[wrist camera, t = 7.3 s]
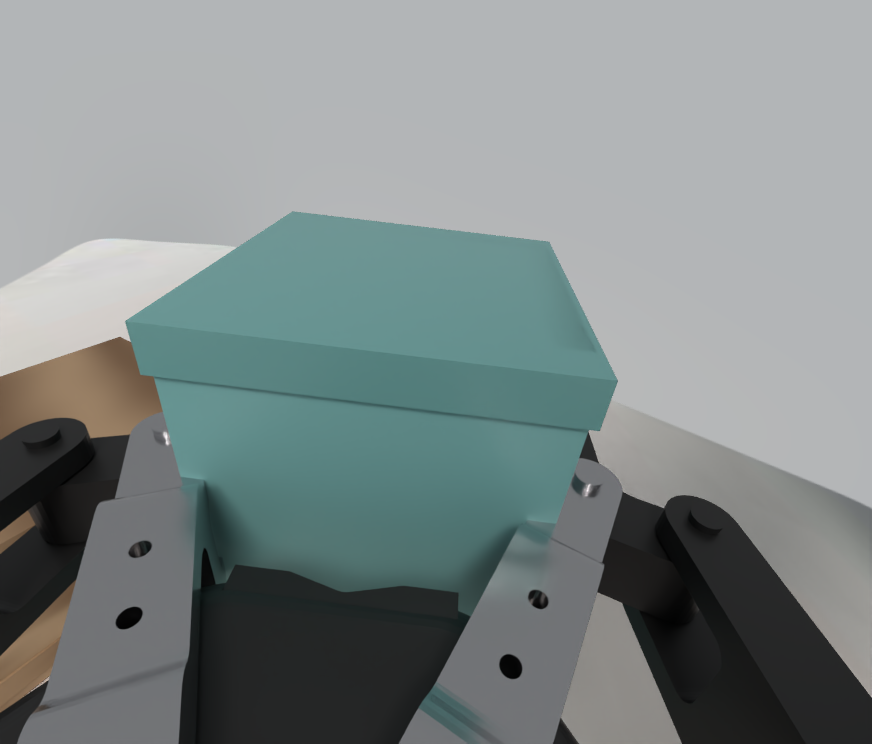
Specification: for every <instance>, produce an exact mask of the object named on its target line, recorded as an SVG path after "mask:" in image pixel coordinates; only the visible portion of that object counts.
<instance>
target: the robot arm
mask: <svg viewBox="0 0 872 744" xmlns="http://www.w3.org/2000/svg"><path fill="white" fill-rule="evenodd" d="M26 511H28V512H29V514H30V516H31V517H32V519H33V521H34V523H35V526H34V527H32V528H31V529H30V530H29V531H28V532H26V533H25V534H24V535H23V536H21V537H20V538H19V539H18V540H17V541H15V542H14V543H13V544H12V545H11V546H9V547H8V548H7V549H6V550H4V551H3V552H2V553H1V554H0V656H1V655H2V654H3V653H4V652H5V651H6V650H7V649H8V648H9V647H10V646H11V645H12V644H13V643H14V642H15V641H16V640H17V639H18V638H19V637H20V636H21V635H22V634H23V633H24V632H25V631H26V630H27V629H28V628H29V627H30V626H31V625H32V624H33V623H34V622H35V621H36V620H37V619H38V618H39V617H40V616H41V615H42V613H43V612H44V611H45V610H46V609H47V608H48V607H49V606H50V605H51V604H52V603H53V602H54V601H55V600H56V599H57V598H58V597H59V596H60V595H61V594H62V593H63V592H64V591H65V590H66V589H67V588H68V587H69V586H70V585H71V584H72V583H73V582H74V581H75V580H76V583H75V587H74V590H73V594H72V598H71V601H70V605H69V609H68V612H67V616H66V620H65V623H64V627H63V631H62V634H61V638H60V641H59V645H58V649H57V652H56V656H55V660H54V663H53V667H52V671H51V674H50V678H49V680H48V681H47V682H45V683H44V684H42V685H41V686H39V687H38V688H36V689H35V690H33V691H32V692H30V693H29V694H27V695H26V696H24V697H23V698H21V699H20V700H18V701H17V702H15V703H14V704H12V705H11V706H9V707H8V708H6V709H5V710H3V711H2V712H0V744H579V743H578V742H577V741H576V739H575V738H574V736H573V735H572V733H571V732H570V731H569V729H568V728H567V726H566V725H565V723H564V722H563V721H562V719H561V714H562V711H563V708H564V704H565V701H566V697H567V694H568V690H569V687H570V683H571V680H572V677H573V673H574V670H575V666H576V663H577V659H578V656H579V653H580V649H581V646H582V642H583V639H584V635H585V632H586V628H587V625H588V622H589V618H590V615H591V611H592V608H593V604H594V601H595V598H596V594H597V592H598V593H601V594H603V595H605V596H608V597H610V598H612V599H615V600H617V601H619V602H622V604H623V607H624V609H625V611H626V614H627V616H628V618H629V621H630V623H631V625H632V628H633V630H634V632H635V635H636V637H637V639H638V642H639V644H640V646H641V649H642V651H643V653H644V656H645V658H646V660H647V663H648V665H649V667H650V670H651V672H652V674H653V677H654V679H655V681H656V684H657V686H658V688H659V691H660V693H661V695H662V698H663V700H664V702H665V705H666V707H667V709H668V712H669V714H670V716H671V719H672V721H673V723H674V726H675V728H676V730H677V733H678V735H679V737H680V740H681V742H682V744H872V698H871V696H870V695H869V694H868V692H867V691H866V690H865V689H864V687H863V686H862V685H861V683H860V682H859V681H858V679H857V678H856V677H855V676H854V674H853V673H852V672H851V670H850V669H849V668H848V666H847V665H846V664H845V663H844V661H843V660H842V659H841V657H840V656H839V655H838V653H837V652H836V651H835V650H834V648H833V647H832V646H831V644H830V643H829V642H828V640H827V639H826V638H825V637H824V635H823V634H822V633H821V631H820V630H819V629H818V627H817V626H816V625H815V624H814V622H813V621H812V620H811V618H810V617H809V616H808V614H807V613H806V612H805V611H804V609H803V608H802V607H801V605H800V604H799V603H798V601H797V600H796V599H795V598H794V596H793V595H792V594H791V592H790V591H789V590H788V588H787V587H786V586H785V585H784V583H783V582H782V581H781V579H780V578H779V577H778V575H777V574H776V573H775V572H774V570H773V569H772V568H771V566H770V565H769V564H768V562H767V561H766V560H765V559H764V557H763V556H762V555H761V553H760V552H759V551H758V549H757V548H756V547H755V545H754V544H753V543H752V542H751V540H750V539H749V538H748V536H747V535H746V534H745V532H744V531H743V530H742V529H741V527H740V526H739V525H738V523H737V522H736V521H735V520H734V519H733V518H732V517H731V516H730V515H729V514H728V513H727V512H725V511H724V510H723V509H721V508H720V507H718V506H717V505H715V504H713V503H711V502H709V501H707V500H704V499H701V498H698V497H694V496H687V495H681V496H676V497H673V498H671V499H670V500H669V501H668V502H667V504H666V506H665V508H661V507H659V506H656V505H653V504H650V503H647V502H645V501H642V500H639V499H637V498H634V497H632V496H630V495H628V494H626V493H624V492H622V486H621V484H620V482H619V480H618V479H617V477H616V476H615V475H614V474H613V473H612V472H611V471H610V470H608V469H607V468H606V467H604V466H602V465H601V464H599V462H598V459H597V456H596V453H595V450H594V447H593V444H592V441H591V438H590V435H589V432H588V434H587V437H586V440H585V443H584V445H583V448H582V451H581V454H580V457H579V460H578V463H577V465H576V468H575V471H574V474H573V477H572V480H571V483H570V485H569V488H568V491H567V494H566V497H565V500H564V503H563V505H562V508H561V511H560V514H559V517H558V520H557V523H556V524H554V523H546V522H538V521H530V520H527V522H526V524H523V523H521V525H520V526H519V527H518V529H517V531H516V533H515V535H514V536H513V538H512V540H511V542H510V544H509V546H508V548H507V550H506V551H505V553H504V555H503V557H502V559H501V561H500V563H499V565H498V567H497V568H496V570H495V572H494V574H493V576H492V578H491V580H490V582H489V583H488V585H487V587H486V589H485V591H484V593H483V595H482V597H481V599H480V600H479V602H478V604H477V606H476V608H475V610H474V612H473V614H472V615H471V616H469V615H467V614H465V613H462V612H460V611H458V597H459V593H458V592H450V591H442V590H434V589H426V588H419V587H411V586H396V587H388V588H379V589H371V590H362V591H354V592H341V591H337V590H335V589H332V588H330V587H328V586H325V585H323V584H320V583H318V582H315V581H313V580H310V579H308V578H305V577H303V576H300V575H298V574H295V573H293V572H290V571H284V570H276V569H268V568H260V567H252V566H244V565H236V564H235V566H234V568H233V570H232V572H231V574H230V576H229V578H228V580H227V582H226V571H225V566H224V562H223V558H222V557H218V553H217V549H216V544H215V540H214V536H213V532H212V528H211V522H210V514H209V498H208V493H207V489H206V485H205V480H202V479H194V478H186V477H180V473H179V469H178V466H177V462H176V458H175V454H174V451H173V447H172V443H171V440H170V436H169V432H168V428H167V425H166V421H165V417H164V414H163V412H160V413H157V414H154V415H152V416H149V417H147V418H145V419H144V420H142V421H141V422H139V423H138V424H137V425H136V426H135V427H134V428H133V430H132V431H131V434H129V435H119V436H108V437H97V438H90V435H89V433H88V430H87V428H86V425H85V424H84V423H83V422H81V421H79V420H77V419H73V418H52V419H46V420H41V421H38V422H34V423H31V424H29V425H26V426H24V427H22V428H19V429H17V430H16V431H14V432H12V433H10V434H9V435H7V436H6V437H4V438H2V439H1V440H0V532H1V531H2V530H3V529H5V528H6V527H7V526H8V525H10V524H11V523H12V522H14V521H15V520H16V519H17V518H19V517H20V516H21V515H23V514H24V513H25V512H26Z"/></svg>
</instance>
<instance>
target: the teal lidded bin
mask: <svg viewBox="0 0 872 744" xmlns="http://www.w3.org/2000/svg"><path fill="white" fill-rule="evenodd" d="M125 322H126V326H127V329H128V333H129V336H130V340H131V343H132V347H133V350H134V354H135V357H136V361H137V364H138V368H139V371H140V375H146V376H154V380H155V384H156V388H157V391H158V395H159V399H160V402H161V406H162V410H163V414H164V417H165V421H166V425H167V428H168V432H169V436H170V440H171V443H172V447H173V451H174V454H175V458H176V462H177V466H178V469H179V473H180V477H186V478H194V479H202V480H205V485H206V489H207V493H208V498H209V514H210V522H211V528H212V532H213V536H214V540H215V544H216V549H217V553H218V557H222V558H223V562H224V566H225V571H226V582H227V580H228V578H229V576H230V574H231V572H232V570H233V568H234V566H235V564H236V565H244V566H252V567H260V568H268V569H276V570H284V571H290V572H293V573H295V574H298V575H300V576H303V577H305V578H308V579H310V580H313V581H315V582H318V583H320V584H323V585H325V586H328V587H330V588H332V589H335V590H337V591H341V592H354V591H362V590H371V589H379V588H388V587H396V586H411V587H419V588H426V589H434V590H442V591H450V592H458V593H459V597H458V611H460V612H462V613H465V614H467V615H469V616H471V615H472V614H473V612H474V610H475V608H476V606H477V604H478V602H479V600H480V599H481V597H482V595H483V593H484V591H485V589H486V587H487V585H488V583H489V582H490V580H491V578H492V576H493V574H494V572H495V570H496V568H497V567H498V565H499V563H500V561H501V559H502V557H503V555H504V553H505V551H506V550H507V548H508V546H509V544H510V542H511V540H512V538H513V536H514V535H515V533H516V531H517V529H518V527H519V526H520V525H521V523H523V524H526V522H527V520H530V521H538V522H546V523H554V524H556V523H557V520H558V517H559V514H560V511H561V508H562V505H563V503H564V500H565V497H566V494H567V491H568V488H569V485H570V483H571V480H572V477H573V474H574V471H575V468H576V465H577V463H578V460H579V457H580V454H581V451H582V448H583V445H584V443H585V440H586V437H587V434H588V431H589V430H594V431H600V428H601V426H602V423H603V420H604V418H605V415H606V412H607V409H608V407H609V404H610V401H611V398H612V396H613V393H614V390H615V387H616V385H617V382H618V380H617V378H616V376H615V374H614V372H613V370H612V368H611V366H610V364H609V362H608V360H607V358H606V356H605V354H604V352H603V350H602V348H601V346H600V344H599V342H598V340H597V338H596V336H595V334H594V332H593V330H592V328H591V326H590V324H589V322H588V320H587V318H586V316H585V313H584V312H583V310H582V308H581V306H580V303H579V301H578V299H577V297H576V295H575V293H574V291H573V289H572V287H571V285H570V283H569V281H568V279H567V277H566V275H565V273H564V271H563V269H562V267H561V265H560V263H559V261H558V259H557V257H556V255H555V253H554V251H553V249H552V247H551V245H550V243H549V242H546V241H538V240H529V239H521V238H513V237H504V236H496V235H487V234H479V233H470V232H461V231H452V230H444V229H436V228H428V227H419V226H411V225H402V224H394V223H385V222H377V221H369V220H360V219H351V218H343V217H334V216H327V215H318V214H309V213H301V212H291V213H290V214H288V215H287V216H285V217H283V218H282V219H280V220H279V221H277V222H276V223H275V224H273V225H271V226H270V227H268V228H267V229H265V230H264V231H262V232H261V233H259V234H257V235H256V236H254V237H253V238H251V239H250V240H248V241H247V242H245V243H244V244H242V245H241V246H239V247H238V248H236V249H235V250H233V251H231V252H230V253H228V254H227V255H225V256H224V257H222V258H221V259H219V260H218V261H216V262H215V263H213V264H212V265H210V266H209V267H207V268H206V269H204V270H202V271H201V272H199V273H198V274H196V275H195V276H193V277H192V278H190V279H189V280H187V281H186V282H184V283H183V284H181V285H180V286H178V287H176V288H175V289H173V290H172V291H170V292H169V293H167V294H166V295H164V296H163V297H161V298H160V299H158V300H157V301H155V302H154V303H152V304H151V305H149V306H147V307H146V308H144V309H143V310H141V311H140V312H138V313H137V314H135V315H134V316H132V317H131V318H129V319H128V320H126V321H125Z"/></svg>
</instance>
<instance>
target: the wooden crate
mask: <svg viewBox="0 0 872 744" xmlns="http://www.w3.org/2000/svg"><path fill="white" fill-rule="evenodd" d="M160 412H163V410H162V406H161V402H160V399H159V395H158V391H157V388H156V384H155V380H154V376H146V375H140V371H139V368H138V364H137V361H136V357H135V354H134V350H133V347H132V343H131V342H129V341H127V340H125V339H123V338H121V337H118V338H115V339H112V340H109V341H106V342H103V343H100V344H97V345H94V346H91V347H88V348H85V349H82V350H79V351H76V352H73V353H70V354H67V355H64V356H61V357H58V358H55V359H52V360H49V361H46V362H43V363H40V364H37V365H34V366H31V367H28V368H25V369H22V370H19V371H16V372H13V373H10V374H7V375H4V376H1V377H0V440H1V439H2V438H4V437H6V436H7V435H9V434H10V433H12V432H14V431H16V430H17V429H19V428H22V427H24V426H26V425H29V424H31V423H34V422H38V421H41V420H46V419H52V418H73V419H77V420H79V421H81V422H83V423H84V424H85V425H86V428H87V430H88V433H89V435H90V438H97V437H108V436H119V435H129V434H131V431H132V430H133V428H134V427H135V426H136V425H137V424H138V423H139V422H141V421H142V420H144V419H145V418H147V417H149V416H152V415H154V414H157V413H160ZM34 526H35V523H34V521H33V519H32V517H31V516H30V514H29V512H28V511H26V512H25V513H24V514H23V515H21V516H20V517H19V518H17V519H16V520H15V521H14V522H12V523H11V524H10V525H8V526H7V527H6V528H5V529H3V530H2V531H1V532H0V554H1V553H2V552H3V551H4V550H6V549H7V548H8V547H9V546H11V545H12V544H13V543H14V542H15V541H17V540H18V539H19V538H20V537H21V536H23V535H24V534H25V533H26V532H28V531H29V530H30V529H31V528H32V527H34ZM75 583H76V580H75V581H74V582H73V583H72V584H71V585H70V586H69V587H68V588H67V589H66V590H65V591H64V592H63V593H62V594H61V595H60V596H59V597H58V598H57V599H56V600H55V601H54V602H53V603H52V604H51V605H50V606H49V607H48V608H47V609H46V610H45V611H44V612H43V613H42V615H41V616H40V617H39V618H38V619H37V620H36V621H35V622H34V623H33V624H32V625H31V626H30V627H29V628H28V629H27V630H26V631H25V632H24V633H23V634H22V635H21V636H20V637H19V638H18V639H17V640H16V641H15V642H14V643H13V644H12V645H11V646H10V647H9V648H8V649H7V650H6V651H5V652H4V653H3V654H2V655H1V656H0V712H2V711H3V710H5V709H6V708H8V707H9V706H11V705H12V704H14V703H15V702H17V701H18V700H20V699H21V698H22V697H23V696H25V695H26V694H27V693H28V692H30V691H31V690H32V689H33V688H35V687H36V686H37V685H39V684H40V683H41V682H42V681H44V680H45V679H46V678H47V677H49V676H50V674H51V671H52V667H53V663H54V660H55V656H56V652H57V649H58V645H59V641H60V638H61V634H62V631H63V627H64V623H65V620H66V616H67V612H68V609H69V605H70V601H71V598H72V594H73V590H74V587H75Z"/></svg>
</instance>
